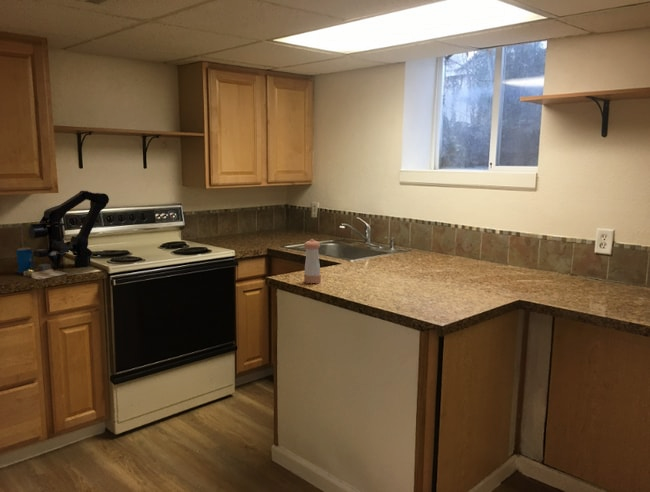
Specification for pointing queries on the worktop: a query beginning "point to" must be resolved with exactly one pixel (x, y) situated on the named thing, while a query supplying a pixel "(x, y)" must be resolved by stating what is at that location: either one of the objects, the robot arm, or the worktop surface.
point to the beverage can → (24, 259)
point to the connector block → (44, 267)
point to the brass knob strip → (29, 273)
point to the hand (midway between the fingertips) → (57, 268)
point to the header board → (44, 273)
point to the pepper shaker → (312, 262)
